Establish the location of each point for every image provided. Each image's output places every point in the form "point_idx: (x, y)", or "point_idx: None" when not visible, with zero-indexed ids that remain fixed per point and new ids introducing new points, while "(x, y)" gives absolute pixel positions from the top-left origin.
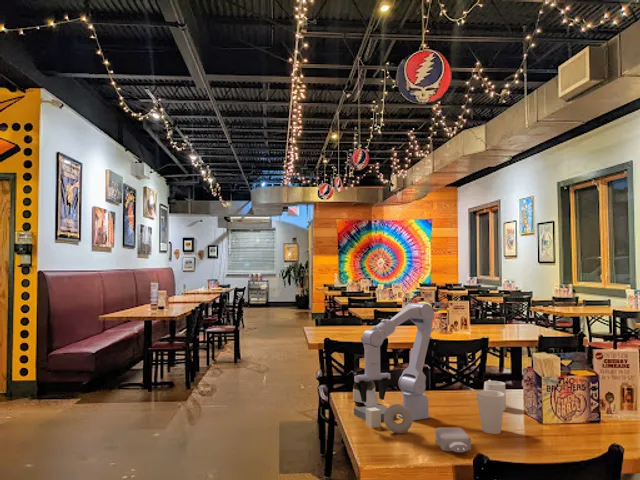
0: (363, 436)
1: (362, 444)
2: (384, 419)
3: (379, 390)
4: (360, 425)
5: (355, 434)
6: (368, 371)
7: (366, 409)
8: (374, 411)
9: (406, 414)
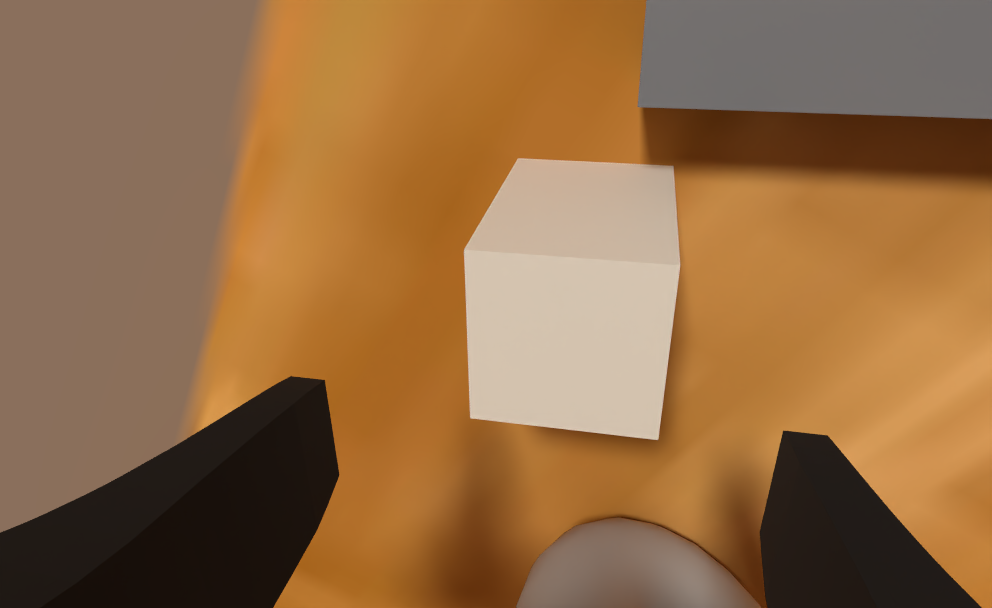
0: None
1: None
2: (518, 604)
3: (844, 594)
4: (446, 133)
5: (263, 364)
6: None
7: (466, 276)
8: (533, 417)
9: None
